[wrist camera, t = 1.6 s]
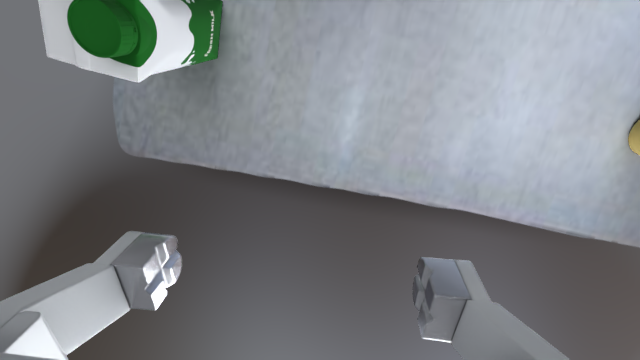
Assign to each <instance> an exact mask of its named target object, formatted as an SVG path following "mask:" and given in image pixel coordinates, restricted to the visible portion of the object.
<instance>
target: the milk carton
mask: <svg viewBox="0 0 640 360" xmlns="http://www.w3.org/2000/svg"><path fill="white" fill-rule="evenodd" d="M38 2H39V9H40V15H41V20H42V27H43V34H44V39H45V46H46V52H47V57H49V58H53V59H56V60H60V61H63V62H67V63H71V64H74V65H76V66H77V67H79V68H83V69H86V70H91V71H96V72H99V73H103V74H107V75H111V76H114V77H118V78H122V79H126V80H129V81H133V82H137V83H138V82H141V81H142V80H144V79H145V78H147V77H148V76H150V75H152V74H156V73H161V72H165V71H169V70H173V69H177V68H181V67H185V66H189V65H194V64H197V63H201V62H205V61H209V60H213V59H217V57H218V47H219V36H220V25H221V14H222V3H223V1H221V0H38Z"/></svg>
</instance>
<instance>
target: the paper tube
mask: <svg viewBox="0 0 640 360" xmlns="http://www.w3.org/2000/svg"><path fill="white" fill-rule="evenodd" d="M628 142H629V146H630V148H631V150H632V151H633V152H635V153H636V154H638V155H640V119H639V120H638V121H637V122H636V123H635V125H634V126H633V127H632V129H631V131H630V133H629V137H628Z"/></svg>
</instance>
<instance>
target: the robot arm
mask: <svg viewBox="0 0 640 360" xmlns="http://www.w3.org/2000/svg"><path fill="white" fill-rule="evenodd" d="M177 246H178V242H177V239H176V237H175V236H172V235H164V234H156V233H146V232H145V233H144V232H135V231H130V232H127V233H126V234H124V235H123V236H122V237H121V238H120V239H119V240H118V241H117V242H116V243H115V244H114V245H112V246H111V247H110V248H109V249H108V250H107V251H106V252H105V253H104V254H103V255H102V256H100V257H99V258H98V259H97V260H96V261H95V262H94V263H93V264H91V263H87V264H85V265H83V266H81V267H78V268H76V269H74V270H71V271H69V272H67V273H64V274H62V275H60V276H58V277H55V278H53V279H51V280H49V281H46V282H44V283H42V284H40V285H37V286H35V287H32V288H30V289H28V290H26V291H24V292H21V293H19V294H16V295H14V296H12V297H10V298H7V299H5V300H3V301H1V302H0V360H68V358H67V356H66V355H67V354H69V353H70V352H72V351H73V350H74V349H76V348H77V347H79V346H80V345H81V344H83V343H84V342H86V341H87V340H88V339H90V338H91V337H92V336H94V335H95V334H97V333H98V332H100V331H101V330H103V329H104V328H105V327H107V326H108V325H110V324H111V323H112V322H114V321H115V320H117V319H118V318H119V317H121V316H122V315H124V314H125V313H126V312H128V311H129V310H130V308H132V309H145V310H157V308H158V307H159V305H160V304H161V302H162V301H163V300H164V298H165V297H166V295H167V287H169V286H171V285H172V284H174V283H175V282H176V280H177V279H178V277H179V275H180V272H181V269H182V258H181V255H180V254H179V253H178V252H177V251H176V250H175V249H176V248H177ZM417 268H418V272H419V274H418V275H416V276H415V277H414V282H413V301H414V305H415V307H416V308H417V310H418V311H419V315H418V324H419V328H420V332H421V337H422V339H429V340H437V341H444V342H451V345H452V346H453V347H454V348H455V350H456V351H457V352H458V353H459V355H460V356H461V357H462V358H463V359H464V360H570V359H569V358H567V357H566V356H565V355H564V354H562V353H561V352H560V351H559V350H557V349H556V348H555V347H553V346H552V345H551V344H549V343H548V342H547V341H546V340H544V339H543V338H542V337H541V336H539V335H538V334H537V333H535V332H534V331H533V330H532V329H530V328H529V327H528V326H526V325H525V324H524V323H523V322H521V321H520V320H519V319H518V318H516V317H515V316H514V315H512V314H511V313H510V312H508V311H507V310H506V309H505V308H503V307H502V306H501V305H499V304H498V303H494V302H492V301H491V299H490V297H489V295H488V293H487V291H486V289H485V287H484V286H483V284H482V281H481V280H480V278H479V276H478V274H477V272H476V270H475V268H474V266H473V264H472V262H470V261H468V260H449V259H437V258H425V257H420V259H419V261H418V265H417Z"/></svg>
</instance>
